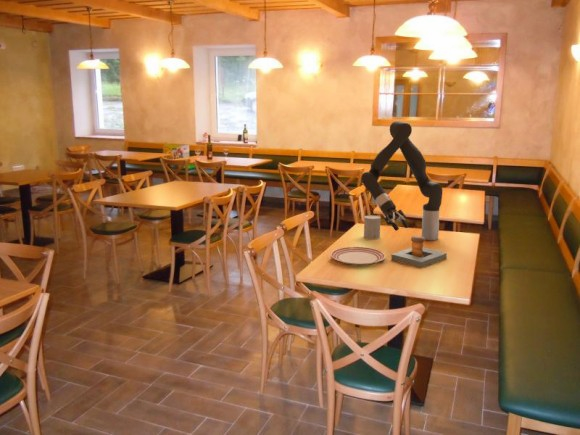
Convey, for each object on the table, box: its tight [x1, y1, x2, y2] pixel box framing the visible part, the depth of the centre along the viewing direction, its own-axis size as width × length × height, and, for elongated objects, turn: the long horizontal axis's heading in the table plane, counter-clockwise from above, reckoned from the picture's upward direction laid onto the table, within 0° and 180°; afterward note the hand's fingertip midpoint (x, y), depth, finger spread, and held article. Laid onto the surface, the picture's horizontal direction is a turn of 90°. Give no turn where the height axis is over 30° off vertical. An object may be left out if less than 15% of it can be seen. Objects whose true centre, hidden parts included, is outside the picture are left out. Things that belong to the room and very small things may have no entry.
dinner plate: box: [330, 246, 386, 266], centre depth 266 cm, size 28×27×3 cm
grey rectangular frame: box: [391, 247, 448, 269], centre depth 266 cm, size 22×18×3 cm
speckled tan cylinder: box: [363, 214, 382, 240], centre depth 307 cm, size 10×10×12 cm
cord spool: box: [410, 235, 426, 258], centre depth 266 cm, size 7×7×11 cm
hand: (402, 228), depth 271 cm, fingers open, 8 cm apart
